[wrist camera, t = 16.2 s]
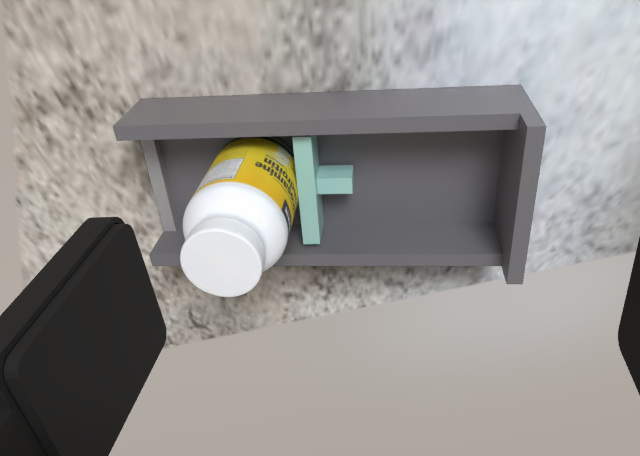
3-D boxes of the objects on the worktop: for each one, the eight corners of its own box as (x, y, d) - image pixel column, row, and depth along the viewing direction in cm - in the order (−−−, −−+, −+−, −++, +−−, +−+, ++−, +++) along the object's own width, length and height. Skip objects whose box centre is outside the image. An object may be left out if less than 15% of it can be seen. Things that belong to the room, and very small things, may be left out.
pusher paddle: (351, 117, 38) (348, 135, 35) (355, 221, 42) (353, 244, 40) (298, 119, 38) (292, 137, 36) (308, 222, 43) (303, 244, 40)
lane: (520, 84, 37) (546, 126, 31) (503, 226, 43) (522, 284, 37) (141, 98, 40) (99, 138, 34) (173, 229, 46) (142, 282, 40)
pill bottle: (308, 208, 43) (285, 310, 33) (225, 211, 43) (178, 311, 34) (298, 127, 39) (269, 214, 29) (208, 131, 40) (150, 218, 30)
